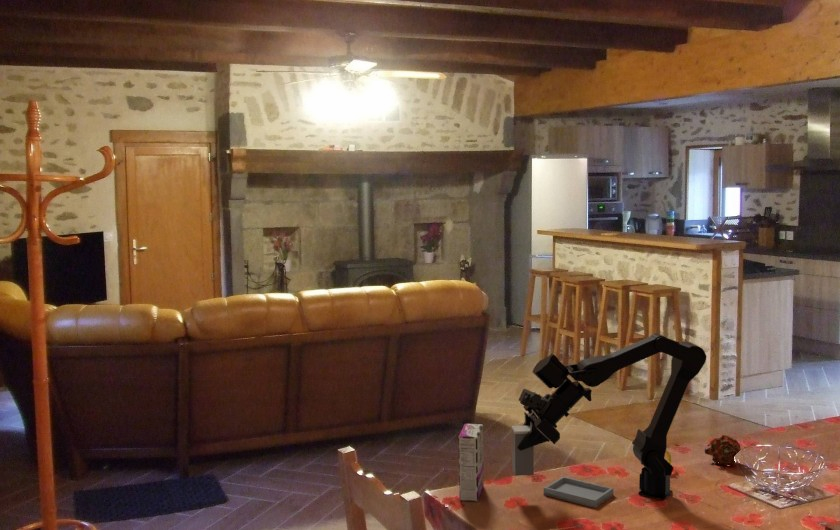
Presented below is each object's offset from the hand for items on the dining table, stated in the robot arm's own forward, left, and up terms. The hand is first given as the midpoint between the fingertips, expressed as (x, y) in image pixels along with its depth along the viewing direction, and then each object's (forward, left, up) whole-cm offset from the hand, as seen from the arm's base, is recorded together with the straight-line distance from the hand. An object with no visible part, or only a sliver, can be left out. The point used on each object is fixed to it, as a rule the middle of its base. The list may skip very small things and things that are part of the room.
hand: (517, 446), depth 199 cm
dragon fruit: (-32, -56, -13) cm, 66 cm away
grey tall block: (-1, -1, -7) cm, 7 cm away
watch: (-20, -41, -13) cm, 48 cm away
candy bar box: (+11, +4, -13) cm, 18 cm away
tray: (-11, -11, -13) cm, 20 cm away
